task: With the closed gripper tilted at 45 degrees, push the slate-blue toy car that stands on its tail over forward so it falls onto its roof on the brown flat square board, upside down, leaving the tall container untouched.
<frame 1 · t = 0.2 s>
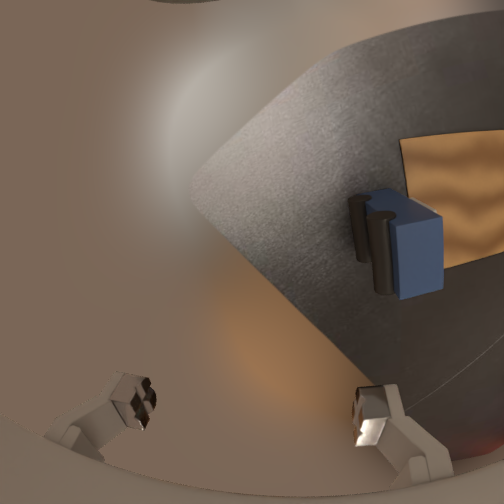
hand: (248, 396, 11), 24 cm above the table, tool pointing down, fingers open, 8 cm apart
brown flat square board: (464, 200, 30), on the table
toy car: (376, 217, 31), on the table
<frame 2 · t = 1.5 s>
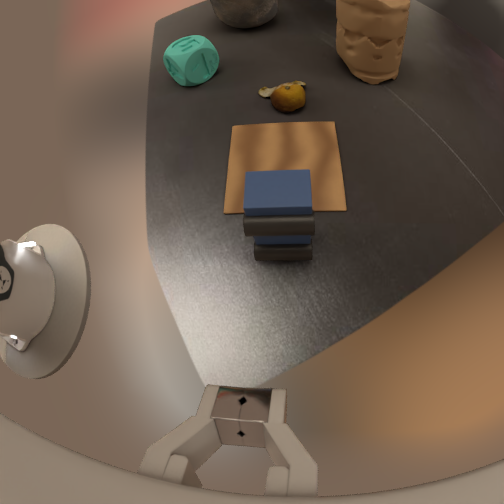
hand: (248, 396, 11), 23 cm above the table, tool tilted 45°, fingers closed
cup: (246, 23, 61), on the table
fruit: (288, 97, 48), on the table
container: (366, 67, 49), on the table
brown flat square board: (284, 163, 42), on the table
toy car: (284, 240, 38), on the table
decorative dice: (196, 75, 54), on the table
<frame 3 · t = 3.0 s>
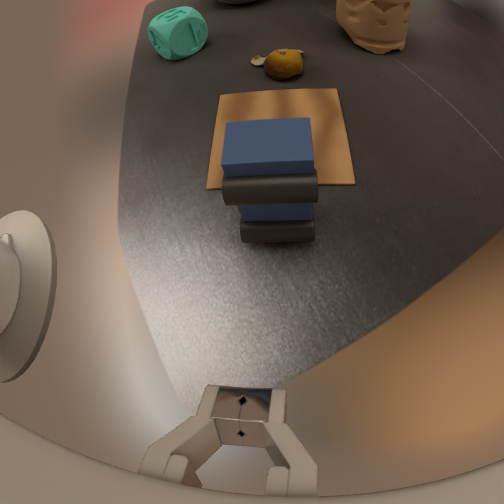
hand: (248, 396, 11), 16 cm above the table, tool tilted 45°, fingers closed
cup: (240, 0, 54), on the table
fruit: (283, 65, 40), on the table
container: (370, 38, 42), on the table
brown flat square board: (279, 131, 35), on the table
toy car: (280, 219, 31), on the table
decorative dice: (183, 49, 47), on the table
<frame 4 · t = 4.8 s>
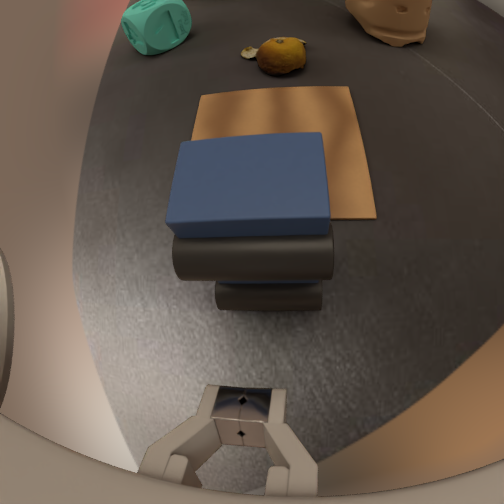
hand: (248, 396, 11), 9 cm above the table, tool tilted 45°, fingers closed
fruit: (281, 58, 32), on the table
container: (384, 28, 33), on the table
brown flat square board: (274, 143, 27), on the table
toy car: (273, 270, 22), on the table
decorative dice: (164, 43, 39), on the table
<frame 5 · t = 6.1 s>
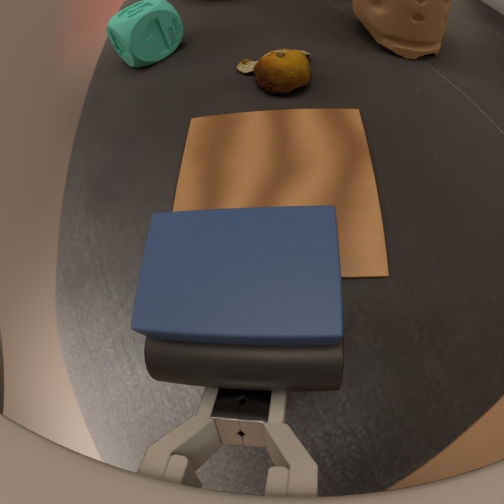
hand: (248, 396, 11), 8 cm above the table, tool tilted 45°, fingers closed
fruit: (282, 72, 29), on the table
container: (396, 37, 30), on the table
brown flat square board: (274, 180, 24), on the table
toy car: (271, 338, 19), on the table, touching gripper
decorative dice: (154, 53, 36), on the table
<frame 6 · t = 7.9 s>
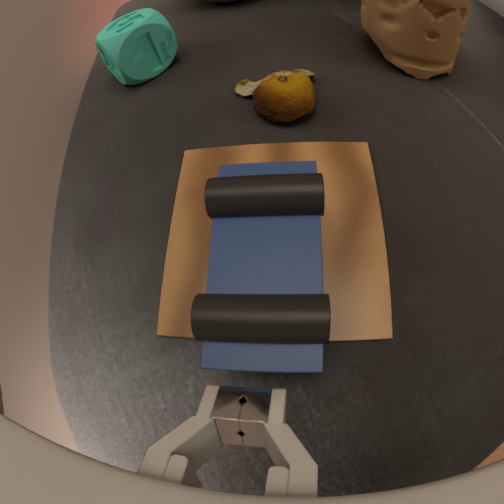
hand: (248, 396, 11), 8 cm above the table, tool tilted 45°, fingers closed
fruit: (284, 95, 28), on the table
container: (406, 53, 29), on the table
brown flat square board: (274, 229, 22), on the table
toy car: (264, 371, 16), point 3 cm above the table, tilted 90°, touching brown flat square board
decorative dice: (146, 68, 34), on the table
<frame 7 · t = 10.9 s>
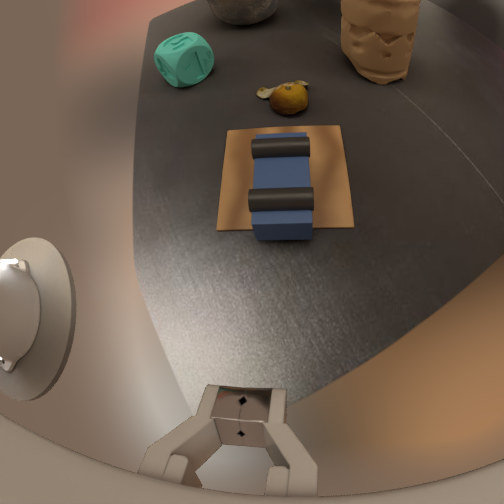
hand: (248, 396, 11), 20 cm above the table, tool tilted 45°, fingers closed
cup: (244, 20, 57), on the table
fruit: (289, 98, 44), on the table
container: (373, 65, 45), on the table
brown flat square board: (284, 172, 38), on the table
toy car: (283, 232, 32), point 3 cm above the table, tilted 90°, touching brown flat square board
decorative dice: (190, 75, 50), on the table
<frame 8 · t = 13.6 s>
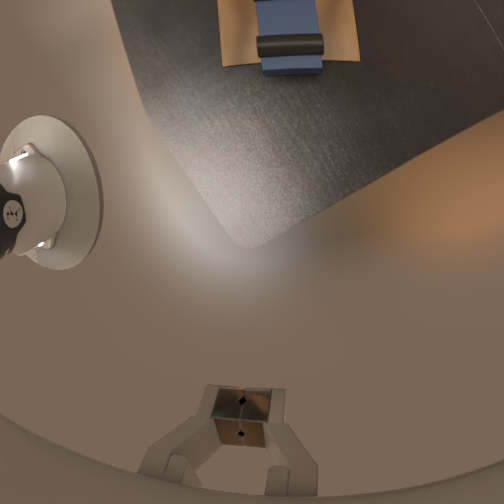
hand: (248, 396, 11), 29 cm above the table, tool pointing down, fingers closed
brown flat square board: (285, 3, 27), on the table
toy car: (292, 71, 28), point 3 cm above the table, tilted 90°, touching brown flat square board
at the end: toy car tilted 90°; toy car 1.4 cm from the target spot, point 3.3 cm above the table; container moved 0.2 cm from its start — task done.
